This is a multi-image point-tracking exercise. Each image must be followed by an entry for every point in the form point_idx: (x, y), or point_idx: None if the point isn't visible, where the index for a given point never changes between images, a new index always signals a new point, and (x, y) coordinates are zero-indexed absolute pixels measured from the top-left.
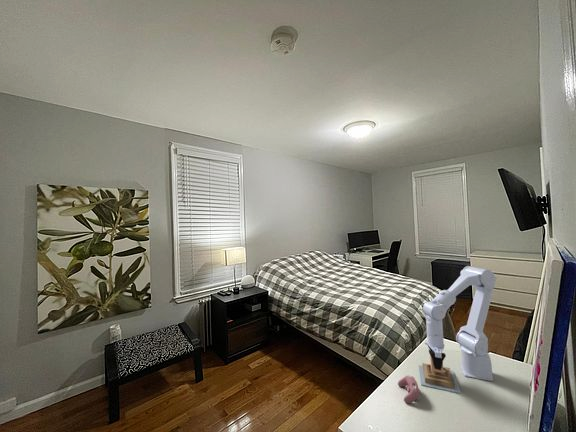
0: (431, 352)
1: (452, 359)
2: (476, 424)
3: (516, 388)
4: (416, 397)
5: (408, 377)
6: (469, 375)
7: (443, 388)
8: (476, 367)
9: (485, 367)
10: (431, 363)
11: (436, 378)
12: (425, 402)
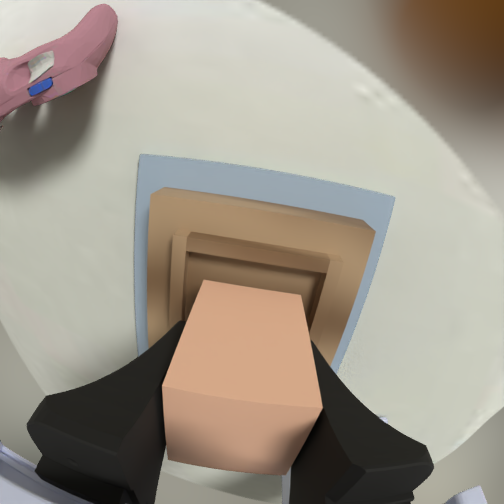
0: (53, 444)
1: (432, 396)
2: (7, 322)
3: (246, 490)
4: None
5: (18, 61)
6: None
7: (139, 289)
8: (289, 485)
9: (287, 501)
10: (188, 323)
11: (166, 283)
12: (22, 158)
